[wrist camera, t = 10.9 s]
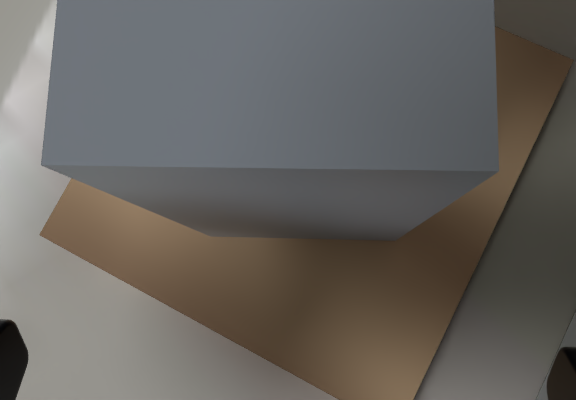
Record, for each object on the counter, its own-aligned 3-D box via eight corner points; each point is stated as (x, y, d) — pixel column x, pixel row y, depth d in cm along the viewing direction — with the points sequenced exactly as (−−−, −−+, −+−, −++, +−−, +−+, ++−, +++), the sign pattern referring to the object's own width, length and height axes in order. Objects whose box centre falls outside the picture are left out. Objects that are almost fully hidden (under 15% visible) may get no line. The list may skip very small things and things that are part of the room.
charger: (395, 240, 15) (499, 171, 6) (210, 236, 15) (41, 165, 6) (395, 62, 15) (486, -241, 7) (219, 62, 16) (79, -224, 7)
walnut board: (394, 424, 15) (397, 432, 14) (53, 237, 16) (39, 235, 15) (561, 71, 16) (573, 60, 15) (229, -74, 17) (224, -91, 17)
